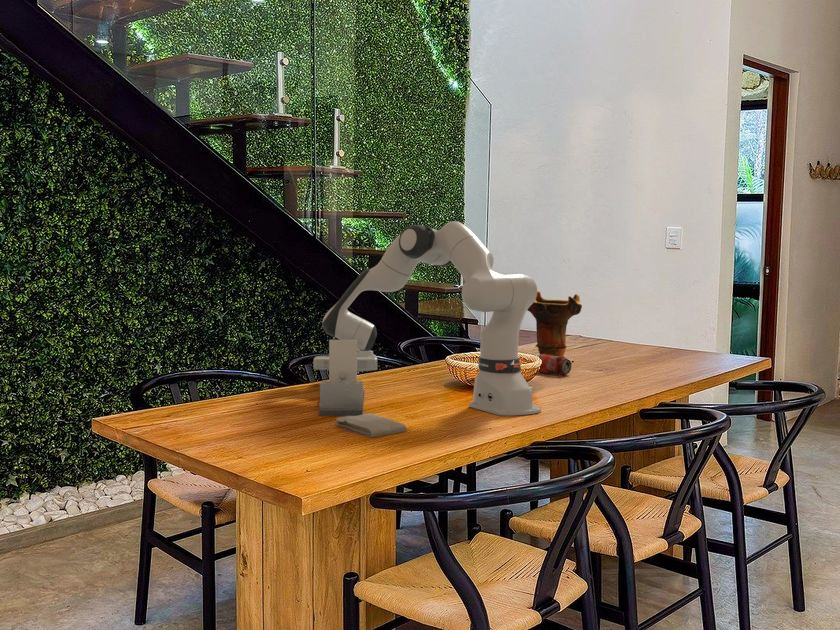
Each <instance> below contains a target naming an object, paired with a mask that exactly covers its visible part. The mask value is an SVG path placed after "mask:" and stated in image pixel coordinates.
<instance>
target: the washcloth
mask: <svg viewBox="0 0 840 630" xmlns="http://www.w3.org/2000/svg"><path fill="white" fill-rule="evenodd" d="M334 425H335V426H337V427H338V428H341V429H343V430H346V431H348V432H352V433H355V434H358V435H361V436H364V437H366V438H377V437H378V438H379V437H381V436H387V435H394V434H395V435H396V434H400V433H405V432H406V431H407V425H405V424H404V423H401V422H399V421H396V420H393V419H390V418H387V417H384V416H380V415H376V414H374V413H363V414H362V415H358V416H340V417H337V418H336V419H335V422H334Z"/></svg>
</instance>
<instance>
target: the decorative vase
mask: <svg viewBox="0 0 840 630" xmlns="http://www.w3.org/2000/svg"><path fill="white" fill-rule="evenodd" d="M582 307H583V305H582V303H581V300H580V294H578V293H575V294H574V296H573V297H572V296H568V298H567V299H549V298H544V297H542V294H541V290H539V289H537V297H536V300H535V301H534V303H533V304H532V305H531V306H530V307H529V308H528V310H527V311H528V312H529V313H530V314H531V315H532V316H533V318H535V323H536V343H537V344H536V345H535V347H534V349H533V354H534V352H535V348H538V349H537V351H538V353H539V355H541V354H545V355H552V356H559V357H565V352H566V350H567V344H566V340H567V339H566V338H567V337H566V335H567V334H566V333H567V325H568V323H569V320H570V319H571V318H572V317H574V316H576V315H579V314H580V313H581V311H582ZM566 358H567V357H566ZM567 359H569V360H570V358H567ZM571 360H572V359H571ZM571 360H570V361H571Z"/></svg>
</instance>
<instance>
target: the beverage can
mask: <svg viewBox="0 0 840 630" xmlns="http://www.w3.org/2000/svg"><path fill="white" fill-rule="evenodd" d="M538 357H539V358H540V359H541V360H542V364H541V366H540V369H539V371H538V372H539V373H542V372H543V374H549V373H550V375H555V374H557V376H561V375H562V376H565V375H568V374H570V372H571V370H572V362H571V361H570V360H569V359H570V358H568V359H567V357H565V356H564V357H559V356H552V355H545V354H541V355H540V354H539V355H538Z"/></svg>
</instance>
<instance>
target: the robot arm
mask: <svg viewBox="0 0 840 630" xmlns="http://www.w3.org/2000/svg"><path fill="white" fill-rule="evenodd" d="M494 259H495V258H494V255H493V253H492V252H491V251H490V250H489V249H488V247H487V246H486V245H485V244H484V243H483V242H482V240H481V239H480V238H479V237H478V236H477V235H476V234H475V233H474V231H472V230H471V229H470V228H469V227H467V226H466V225H465V224H464V223H462V222H460V221H457V220H456V221H449V222H447V223H446V224H444V225H443V226H442V227H441V228H440V229H435V228H432V227H430V226H426V225H421V224H412V225H408V226H406V227H405V228H404V229H403V230H402V232H401V233H400V234H399V235H398V236H396V237H395V239H394V240H393V241H392V242H391V243H390V245H389V246H388V248H386V250H385V252H384V254H383V255H382V257H381V259H380V260H379V262H378V263H377V264H376V265H375V266H373V267H372V268H365V269H364V270H362V272H360V274H358V275H357V277H356V279H354V280H353V282H352V283H351V284H350V286H348V287H347V289H346V290H345V291H344V293H343V294H342V295H341V297H339V300H338V301H337V302H336V303H335V304H334V305H333V306H332V307H331V308H330V309H329V310H328V311H327V312H326V313H325V314H324V317H323V318H322V322H321V325H322V328H323V331H324V332H325V334H326V335H329V336H331V337H333V338H336V339H337V340H357V373H358V372H370V371H377V370H378V357H377V355H376V354H374V351H373V350H372V349H373V347H374V344H375V342H376V339H377V336H378V332H377V328H376V325H375V324H373V323H372V322H370V321H368V320H366V319H364V318H362V317H360V316H358V315H356V314H354V313H352V312H351V311H349V310H348V308H349V307H350V306H351V305H352V303H353V302H354V301H355V300H356V298H357V297H358V296H359V295H360V294H361V293H362V292H364V291H366V292H367V291H375V292H376V291H377V292H383V293H394V292H397V291H400V290H402V289H403V288H404V287H405V285H406V284H407V283H408V281H409V280H410V278H411V276H412V274H413V273H414V270H415V268H416V267H417V266H418V264H420V263H424V264H427V265H433V266H435V267H436V266H437V267H449V266H452V265H453V266H454V267H455V268H456V270H457V271H458V272H459V274H460V275H461V277H462V279H463V280H464V282H463V286H462V288H461V297H462V301H463V304H464V305H465V306H466V307H467V309H469V310H472V311H476V312H480V313H481V312H482V313H488V312H492V315H491V318H490V320H489V322H488V323H486V325H485V326H483V328H482V329H481V331H480V351H479V353H480V355H479V357H478V370H479V372H478V374H477V375H476V377H474V383H473V394H472V401H470V402H469V404H468V407H470V408H473V409H475V410H476V409H477V410H480V411H484V412H487V413H489V414H490V413H491V414H494V415H498V416H524V415H534V414H539V413H541V412H542V409H541V408H540V407H539V406H538V405H536V404H534V402H533V401H534V399H533V394H534V388H533V386H530V385H529V383H528V382H527V381H526V379H525V377H524V376H523V374H522V372H521V371H522V369H521V368H522V366H521V365H522V363H521V362H520V358H519V339H520V338H519V337H520V330H521V325H522V322H523V320H524V317H525V315H526V314H527V311H528V308H529V307H530V306H531V305H532V304H533V303H534V301H535V300H536V297H537V290H538V286H537V283H536V281H535V279H533V278H532V277H531V276H530V275H526V274H523V273H518V272H507V273H504V272H503V273H501V272H500V273H499V272H497V271H495V270H494V269H493V266H494ZM313 369H314V371H315V370H316V371H329V355H317V356H315V357H314V358H313Z"/></svg>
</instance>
